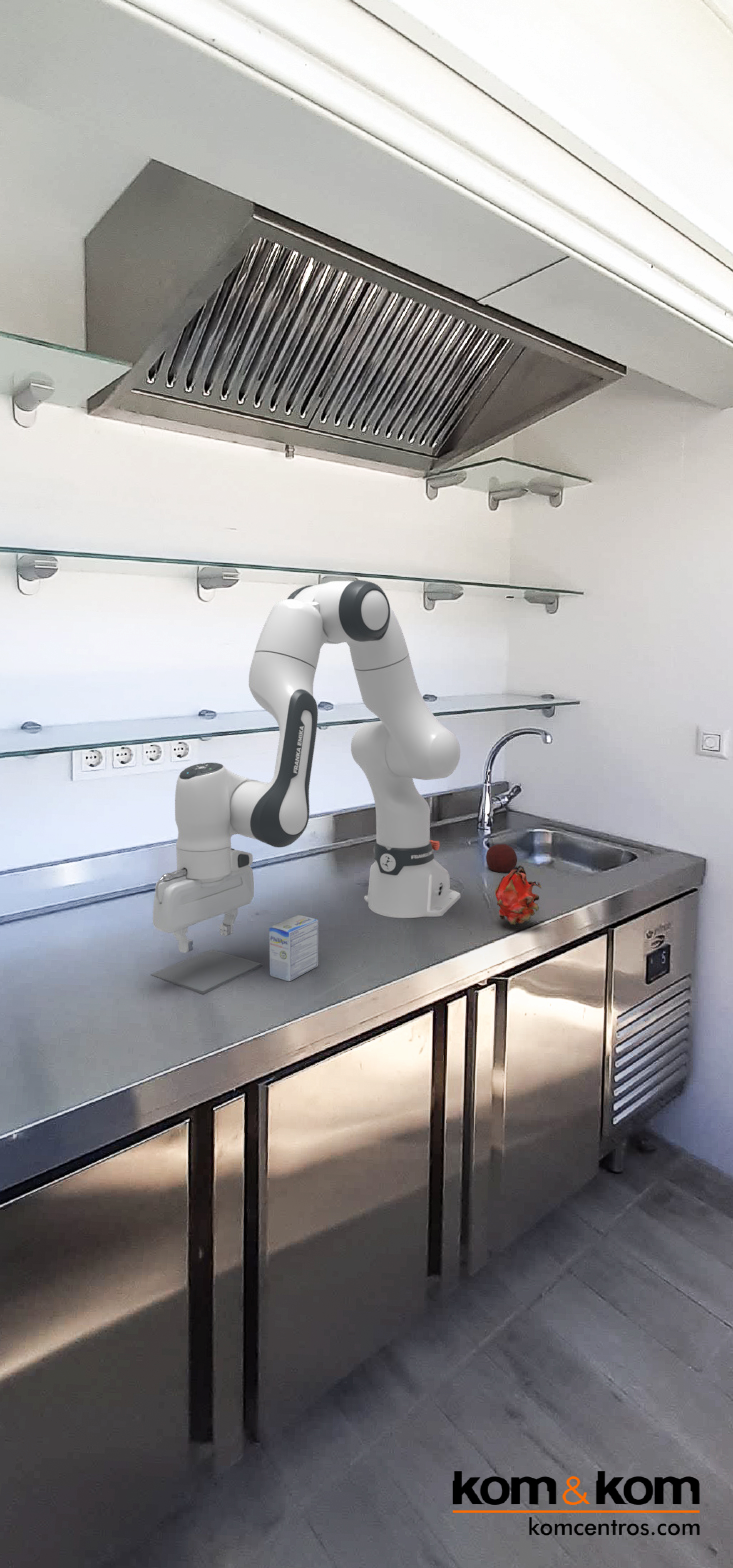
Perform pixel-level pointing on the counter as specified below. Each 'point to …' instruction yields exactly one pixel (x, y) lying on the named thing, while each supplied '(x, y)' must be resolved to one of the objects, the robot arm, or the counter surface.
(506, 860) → the dark brown ball
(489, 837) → the counter surface
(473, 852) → the counter surface
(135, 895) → the counter surface
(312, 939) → the medicine box
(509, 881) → the dragon fruit
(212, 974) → the mat
